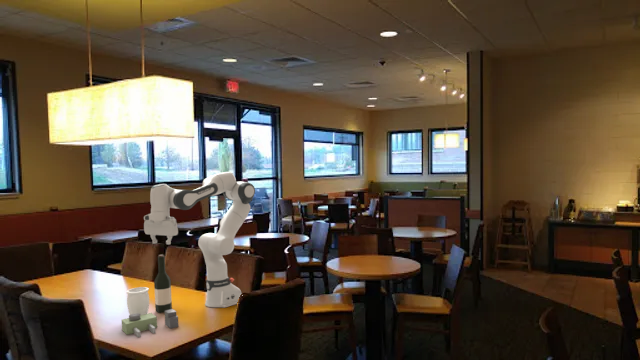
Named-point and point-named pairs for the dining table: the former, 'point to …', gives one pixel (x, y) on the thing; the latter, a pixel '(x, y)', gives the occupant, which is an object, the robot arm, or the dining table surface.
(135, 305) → the jar
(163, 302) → the wine bottle
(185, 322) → the dining table surface
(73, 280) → the dining table surface
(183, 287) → the dining table surface
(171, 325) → the upright grey box
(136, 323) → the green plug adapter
